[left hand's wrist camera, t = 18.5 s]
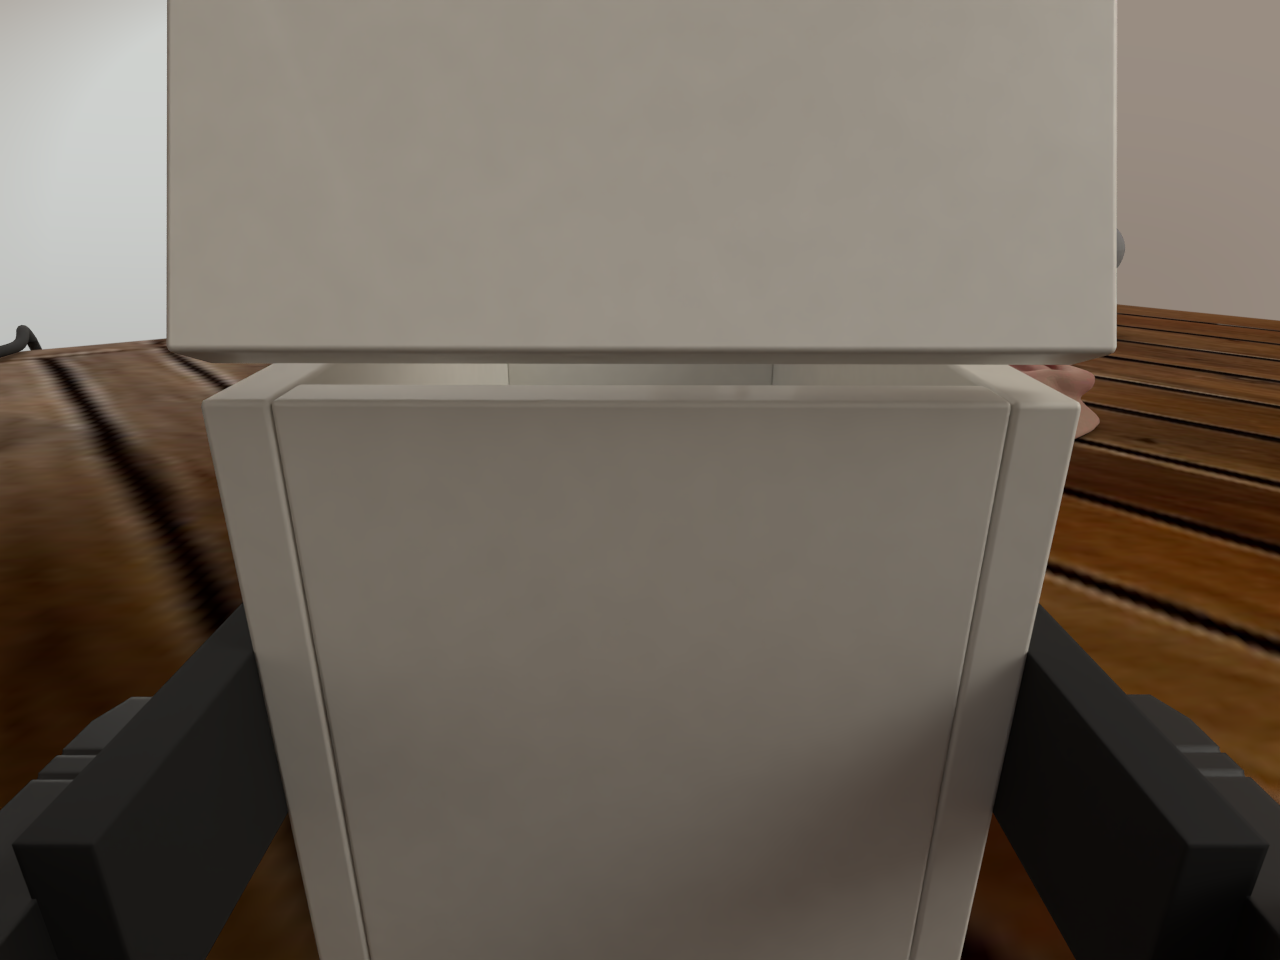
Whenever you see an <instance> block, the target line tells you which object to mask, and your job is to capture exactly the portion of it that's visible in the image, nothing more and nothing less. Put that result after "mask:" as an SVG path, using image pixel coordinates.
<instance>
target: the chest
mask: <svg viewBox="0 0 1280 960" xmlns="http://www.w3.org/2000/svg"><path fill="white" fill-rule="evenodd" d="M201 408H202V412H203V417H204V422H205V426H206V431H207V436H208V440H209V445H210V450H211V454H212V459H213V464H214V468H215V473H216V478H217V482H218V487H219V492H220V496H221V501H222V506H223V510H224V515H225V520H226V524H227V529H228V534H229V538H230V543H231V548H232V552H233V557H234V562H235V566H236V571H237V576H238V580H239V585H240V590H241V594H242V599H243V604H244V608H245V613H246V618H247V622H248V627H249V632H250V636H251V641H252V646H253V650H254V655H255V660H256V664H257V669H258V674H259V678H260V683H261V688H262V692H263V697H264V702H265V706H266V711H267V716H268V720H269V725H270V730H271V734H272V739H273V744H274V748H275V753H276V757H277V762H278V767H279V771H280V776H281V781H282V785H283V790H284V794H285V799H286V804H287V808H288V814H289V818H290V823H291V828H292V832H293V837H294V842H295V846H296V851H297V856H298V860H299V865H300V870H301V874H302V879H303V884H304V888H305V893H306V898H307V902H308V907H309V912H310V916H311V921H312V926H313V930H314V935H315V940H316V944H317V949H318V954H319V958H320V960H960V958H961V953H962V948H963V944H964V939H965V935H966V930H967V926H968V921H969V917H970V912H971V907H972V903H973V898H974V894H975V889H976V885H977V880H978V876H979V871H980V867H981V862H982V857H983V853H984V848H985V844H986V839H987V835H988V830H989V826H990V821H991V816H992V812H993V807H994V803H995V798H996V794H997V789H998V785H999V780H1000V776H1001V771H1002V766H1003V762H1004V757H1005V753H1006V748H1007V744H1008V739H1009V735H1010V730H1011V725H1012V721H1013V716H1014V712H1015V707H1016V702H1017V698H1018V693H1019V689H1020V684H1021V680H1022V675H1023V670H1024V666H1025V661H1026V657H1027V652H1028V648H1029V644H1030V639H1031V635H1032V630H1033V625H1034V621H1035V616H1036V612H1037V607H1038V603H1039V598H1040V594H1041V589H1042V584H1043V580H1044V575H1045V571H1046V566H1047V562H1048V557H1049V553H1050V548H1051V544H1052V539H1053V534H1054V530H1055V525H1056V521H1057V516H1058V512H1059V507H1060V503H1061V498H1062V494H1063V489H1064V484H1065V480H1066V475H1067V471H1068V466H1069V462H1070V457H1071V453H1072V448H1073V443H1074V439H1075V434H1076V430H1077V425H1078V421H1079V416H1080V412H1081V406H1080V403H1079V402H1077V401H1075V400H1073V399H1072V398H1070V397H1068V396H1066V395H1064V394H1062V393H1060V392H1058V391H1056V390H1055V389H1053V388H1051V387H1049V386H1047V385H1045V384H1043V383H1041V382H1039V381H1038V380H1036V379H1034V378H1032V377H1030V376H1028V375H1026V374H1024V373H1022V372H1020V371H1019V370H1017V369H1015V368H1013V367H1011V366H1009V365H895V364H395V363H274V364H272V365H270V366H268V367H266V368H264V369H263V370H261V371H259V372H257V373H255V374H253V375H251V376H249V377H247V378H246V379H244V380H242V381H240V382H238V383H236V384H234V385H232V386H230V387H228V388H227V389H225V390H223V391H221V392H219V393H217V394H215V395H213V396H211V397H209V398H208V399H206V400H204V401H203V402H202V407H201Z"/></svg>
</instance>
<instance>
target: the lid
mask: <svg viewBox="0 0 1280 960" xmlns="http://www.w3.org/2000/svg"><path fill="white" fill-rule="evenodd" d="M1116 313H1117V0H167V347H168V349H169V351H171V352H174V353H177V354H181V355H184V356H188V357H192V358H195V359H199V360H203V361H206V362H210V363H395V364H895V365H1072V364H1076V363H1079V362H1083V361H1087V360H1091V359H1094V358H1098V357H1102V356H1106V355H1109V354H1111V353H1113V352H1114V351H1115V349H1116Z"/></svg>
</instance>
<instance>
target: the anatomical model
mask: <svg viewBox="0 0 1280 960" xmlns="http://www.w3.org/2000/svg"><path fill="white" fill-rule="evenodd" d="M1009 366H1011V367H1013V368H1015V369H1017V370H1019V371H1020V372H1022V373H1024V374H1026V375H1028V376H1030V377H1032V378H1034V379H1036V380H1038V381H1039V382H1041V383H1043V384H1045V385H1047V386H1049V387H1051V388H1053V389H1055V390H1056V391H1058V392H1060V393H1062V394H1064V395H1066V396H1068V397H1070V398H1072V399H1073V400H1075V401H1077V402H1079V403H1080V406H1081V412H1080V416H1079V421H1078V425H1077V430H1076V434H1075V439H1076V438H1078V437H1080V436H1083V435H1085V434H1087V433H1089V432H1091V431H1092V430H1093V429H1094V428H1095V427H1096V426H1097V425H1098V424H1099V418H1098V416H1097V415H1096V414H1095V413H1094V412H1093V411H1092V410H1090V409H1089V408H1088V407H1087V406H1086V405H1085V404H1084V403H1083V402H1082V401H1081V396H1082V395H1083V394H1084V393H1086V392H1087V391H1089V390H1090V389H1091V388H1092V387H1093V385H1094V382H1095V377H1094V375H1093V374H1092V373H1090V372H1088V371H1086V370H1083V369H1080V368H1077V367H1073V366H1070V365H1009Z"/></svg>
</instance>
